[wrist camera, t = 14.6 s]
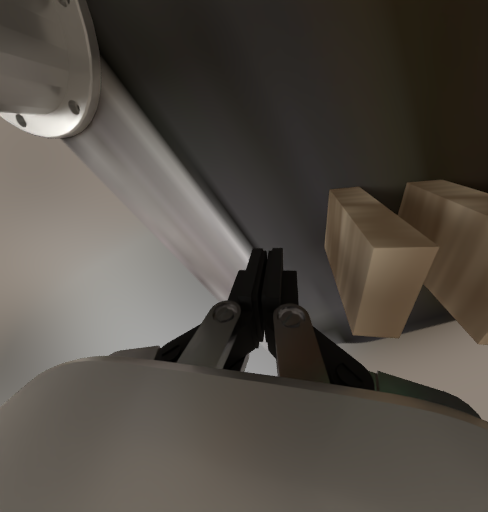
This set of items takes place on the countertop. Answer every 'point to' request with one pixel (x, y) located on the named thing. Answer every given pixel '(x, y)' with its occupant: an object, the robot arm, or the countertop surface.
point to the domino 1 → (375, 262)
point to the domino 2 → (454, 248)
